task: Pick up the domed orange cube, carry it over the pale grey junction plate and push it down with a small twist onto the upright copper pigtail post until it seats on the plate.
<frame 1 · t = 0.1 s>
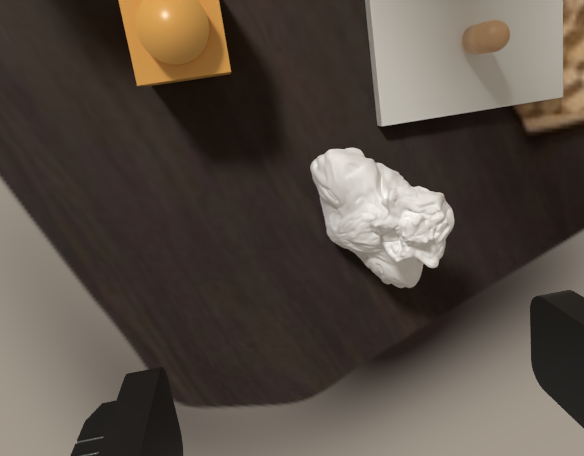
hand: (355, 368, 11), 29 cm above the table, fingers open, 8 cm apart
junction plate: (461, 13, 38), on the table
bust: (363, 204, 41), on the table
domed orange cube: (183, 38, 36), on the table
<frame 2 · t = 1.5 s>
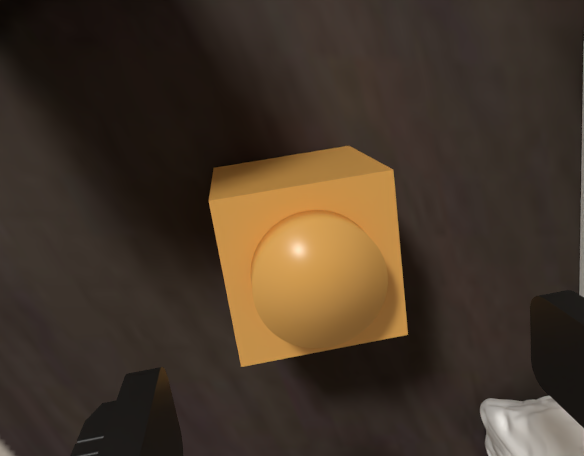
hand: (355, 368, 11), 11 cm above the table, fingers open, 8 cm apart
bust: (544, 437, 27), on the table
domed orange cube: (291, 221, 22), on the table
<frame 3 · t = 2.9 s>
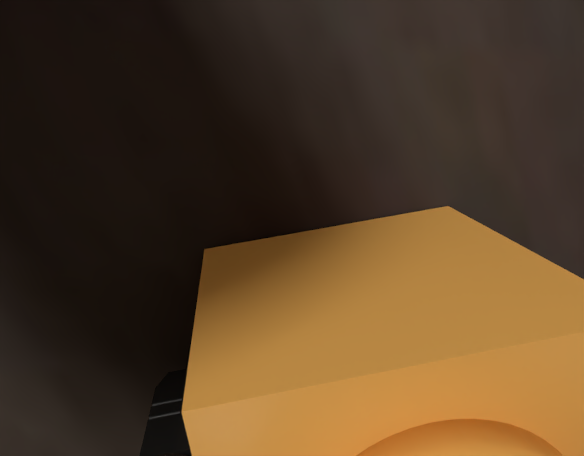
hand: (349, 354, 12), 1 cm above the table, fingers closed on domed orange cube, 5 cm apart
domed orange cube: (343, 338, 12), on the table, touching gripper
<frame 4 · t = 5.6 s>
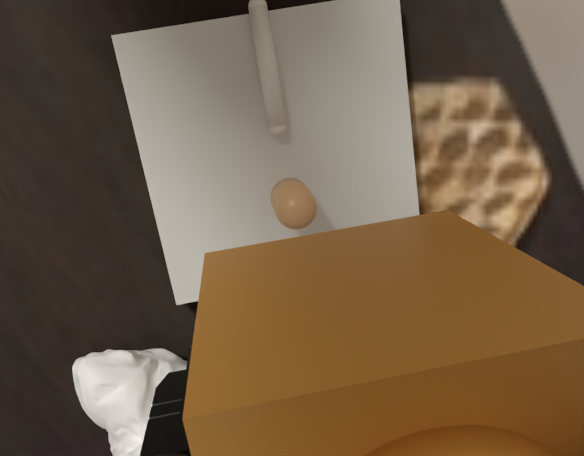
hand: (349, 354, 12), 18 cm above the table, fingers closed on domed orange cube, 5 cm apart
junction plate: (279, 153, 28), on the table
bust: (173, 389, 31), on the table
domed orange cube: (343, 341, 13), point 17 cm above the table, touching gripper
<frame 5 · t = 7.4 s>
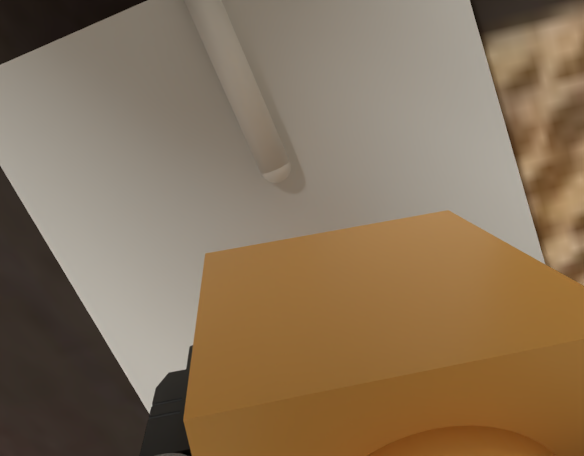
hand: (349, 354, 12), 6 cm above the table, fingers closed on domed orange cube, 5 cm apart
junction plate: (289, 204, 17), on the table
domed orange cube: (343, 342, 13), point 5 cm above the table, touching gripper
when the fingers open (3 cm above the table, at t = 8.5 s): domed orange cube drops 1 cm, resting on junction plate.
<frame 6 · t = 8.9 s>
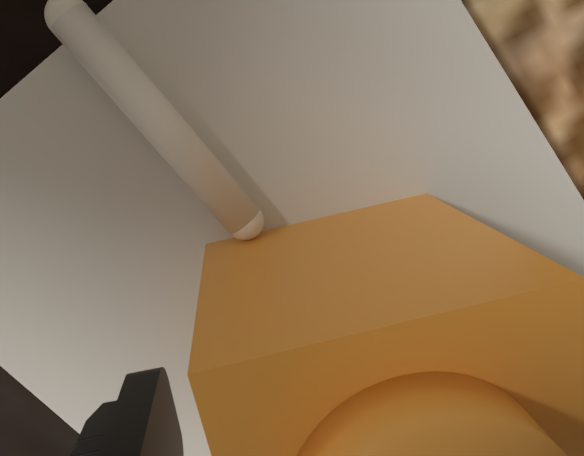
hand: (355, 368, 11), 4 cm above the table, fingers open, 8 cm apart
junction plate: (280, 249, 14), on the table
domed orange cube: (337, 319, 14), point 1 cm above the table, touching junction plate
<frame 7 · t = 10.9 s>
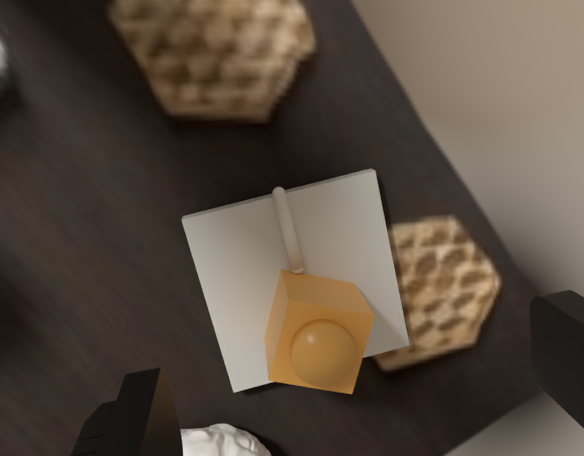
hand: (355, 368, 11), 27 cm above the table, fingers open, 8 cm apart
junction plate: (299, 280, 39), on the table
bust: (233, 450, 43), on the table
domed orange cube: (308, 311, 39), point 1 cm above the table, touching junction plate
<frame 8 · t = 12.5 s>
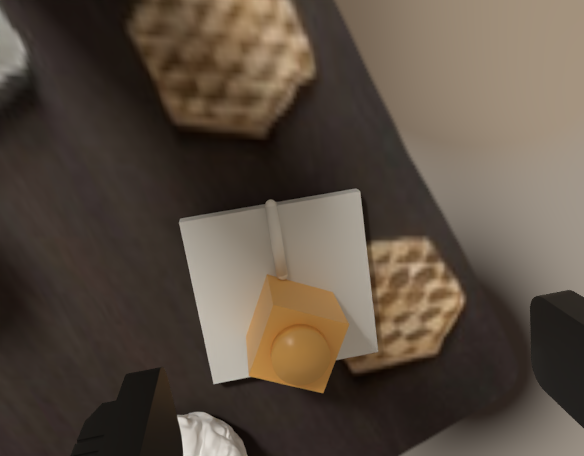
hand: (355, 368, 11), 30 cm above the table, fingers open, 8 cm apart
junction plate: (282, 285, 43), on the table
bust: (208, 436, 46), on the table
domed orange cube: (289, 314, 42), point 1 cm above the table, touching junction plate
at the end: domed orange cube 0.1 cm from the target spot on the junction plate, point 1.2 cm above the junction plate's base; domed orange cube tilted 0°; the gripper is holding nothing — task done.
